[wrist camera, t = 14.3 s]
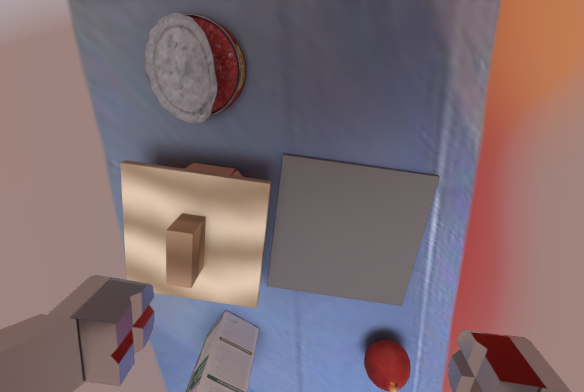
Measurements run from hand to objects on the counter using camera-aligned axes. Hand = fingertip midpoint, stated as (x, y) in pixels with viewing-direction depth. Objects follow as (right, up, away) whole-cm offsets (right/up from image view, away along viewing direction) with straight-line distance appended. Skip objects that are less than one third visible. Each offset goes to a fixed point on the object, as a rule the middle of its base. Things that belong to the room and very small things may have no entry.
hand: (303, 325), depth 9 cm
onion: (+12, -17, +39) cm, 44 cm away
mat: (+6, -1, +33) cm, 34 cm away
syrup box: (-9, -16, +40) cm, 44 cm away
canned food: (-10, +17, +28) cm, 34 cm away
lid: (-11, -1, +28) cm, 30 cm away
